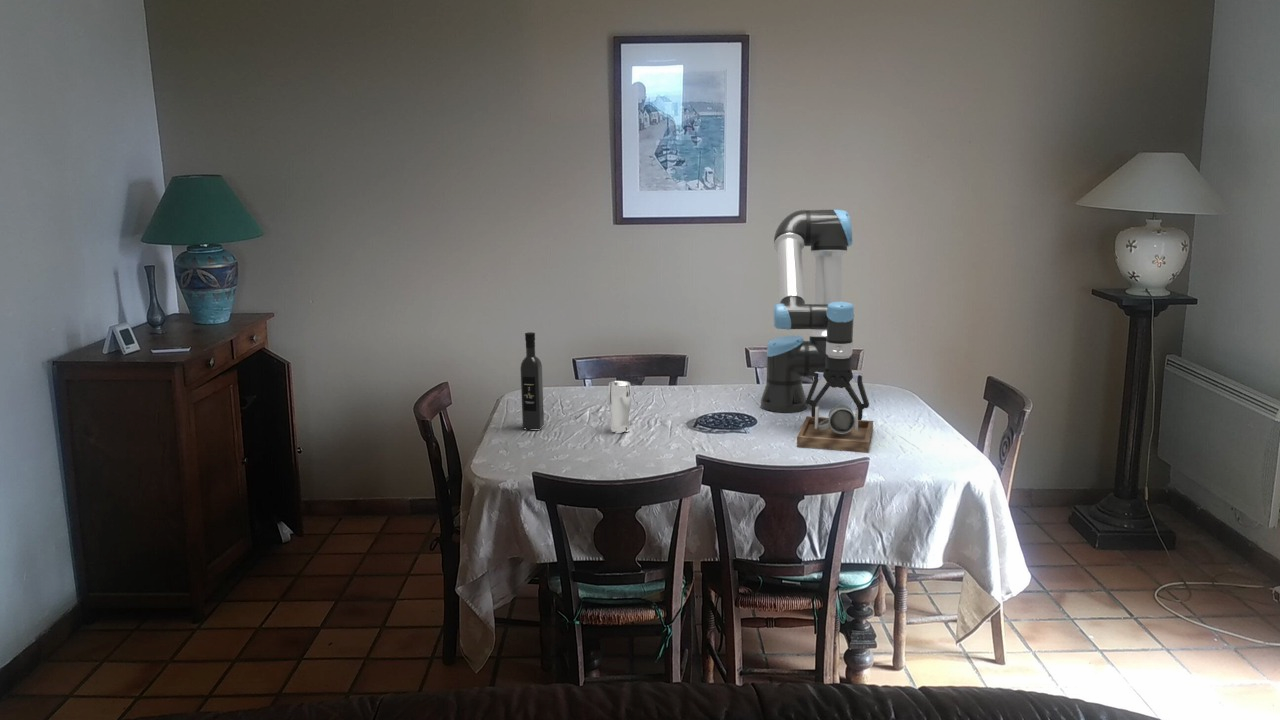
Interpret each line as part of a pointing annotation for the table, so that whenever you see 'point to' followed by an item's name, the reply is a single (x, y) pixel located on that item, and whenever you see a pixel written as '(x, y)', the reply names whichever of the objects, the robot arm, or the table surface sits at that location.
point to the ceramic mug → (839, 420)
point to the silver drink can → (619, 405)
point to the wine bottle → (531, 386)
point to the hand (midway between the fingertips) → (836, 428)
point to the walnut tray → (835, 436)
